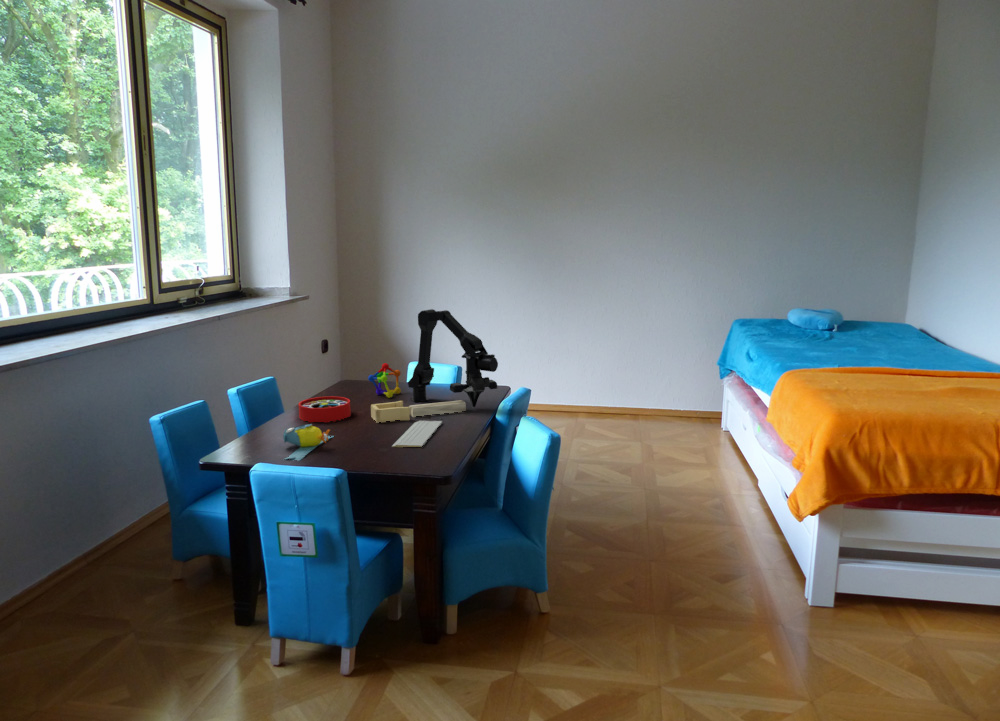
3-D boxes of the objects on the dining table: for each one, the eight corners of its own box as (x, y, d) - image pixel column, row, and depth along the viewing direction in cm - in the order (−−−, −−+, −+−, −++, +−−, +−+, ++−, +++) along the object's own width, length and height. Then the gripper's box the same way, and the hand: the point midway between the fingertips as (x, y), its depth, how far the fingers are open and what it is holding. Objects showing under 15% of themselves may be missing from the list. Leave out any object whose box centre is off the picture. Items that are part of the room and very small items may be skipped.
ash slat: (409, 415, 284) (409, 405, 283) (461, 409, 292) (461, 400, 291) (412, 418, 280) (412, 408, 279) (465, 412, 288) (465, 402, 287)
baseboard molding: (387, 448, 242) (421, 449, 240) (387, 440, 242) (421, 441, 240) (411, 424, 272) (442, 425, 270) (411, 416, 272) (442, 417, 270)
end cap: (370, 416, 282) (369, 403, 281) (402, 412, 287) (402, 400, 286) (377, 423, 271) (376, 411, 270) (410, 420, 275) (410, 407, 274)
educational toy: (375, 394, 324) (375, 361, 323) (402, 394, 323) (402, 361, 322) (364, 398, 309) (364, 364, 308) (393, 399, 308) (393, 365, 306)
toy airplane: (307, 436, 226) (264, 435, 229) (310, 462, 228) (266, 461, 231) (342, 414, 253) (303, 413, 256) (344, 437, 255) (305, 436, 258)
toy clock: (312, 395, 294) (357, 397, 290) (312, 409, 295) (358, 411, 291) (289, 407, 274) (338, 409, 271) (290, 422, 276) (338, 424, 272)
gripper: (457, 374, 278) (458, 413, 280) (502, 370, 284) (502, 408, 287) (449, 369, 288) (449, 407, 291) (492, 366, 295) (492, 402, 297)
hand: (473, 406), depth 291 cm, fingers closed
